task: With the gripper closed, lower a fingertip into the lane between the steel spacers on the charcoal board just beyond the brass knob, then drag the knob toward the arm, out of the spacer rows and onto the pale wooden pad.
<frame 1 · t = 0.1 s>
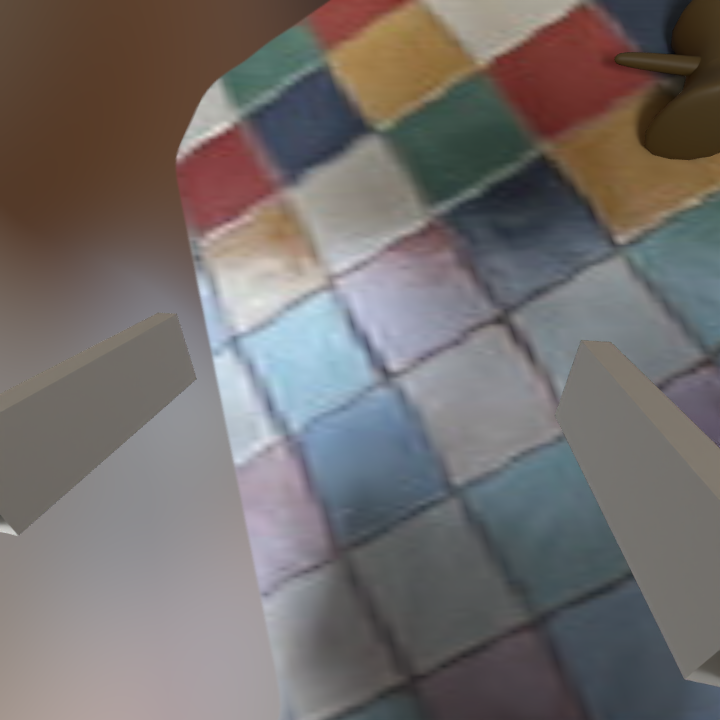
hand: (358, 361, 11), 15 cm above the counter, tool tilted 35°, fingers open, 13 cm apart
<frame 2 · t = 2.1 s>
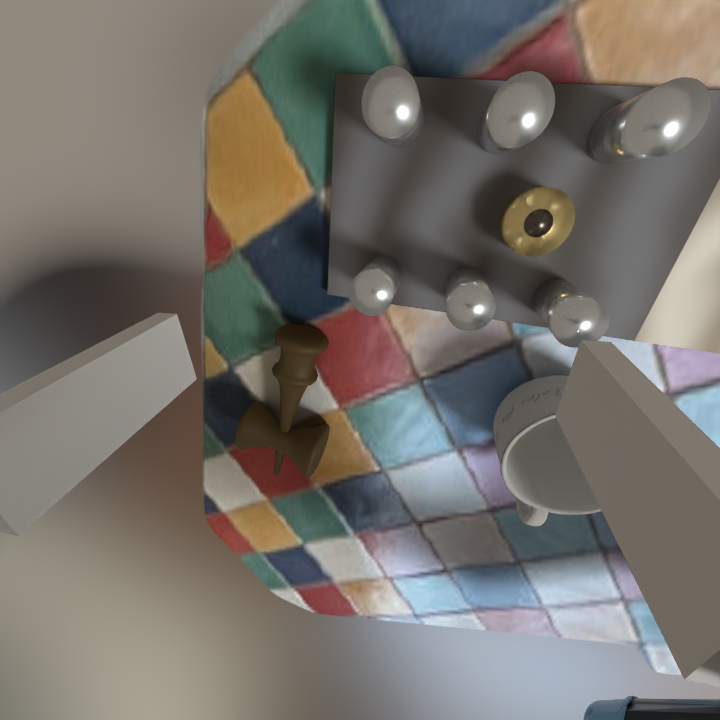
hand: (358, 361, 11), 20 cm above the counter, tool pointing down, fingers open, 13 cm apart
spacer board: (577, 224, 25), on the counter
kendama: (298, 397, 39), on the counter
teacup: (537, 419, 33), on the counter
steel spacers: (577, 224, 25), resting on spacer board
brass knob: (530, 220, 25), point 1 cm above the counter, touching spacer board
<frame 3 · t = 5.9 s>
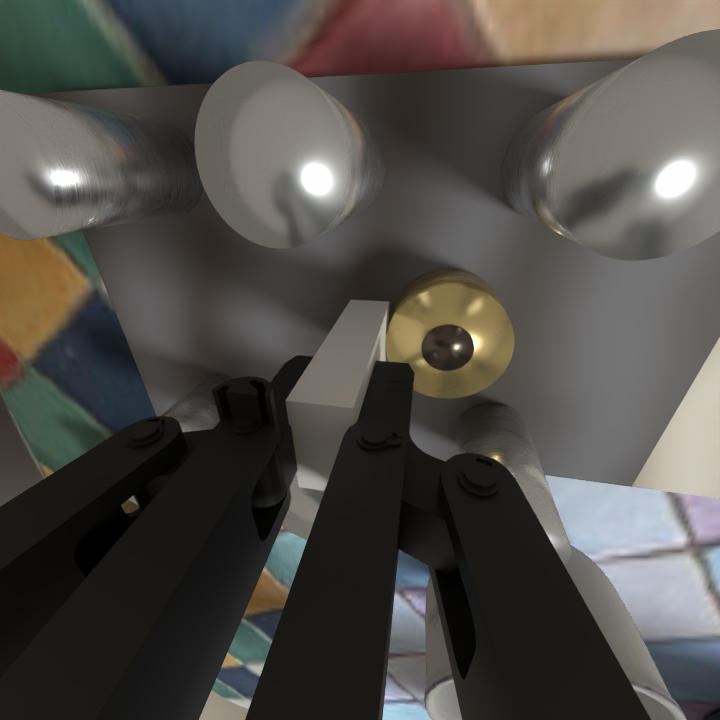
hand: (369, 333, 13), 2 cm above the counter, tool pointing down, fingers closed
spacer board: (511, 316, 14), on the counter
teacup: (499, 564, 23), on the counter
steel spacers: (511, 316, 14), resting on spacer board
brass knob: (444, 321, 14), point 1 cm above the counter, touching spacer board
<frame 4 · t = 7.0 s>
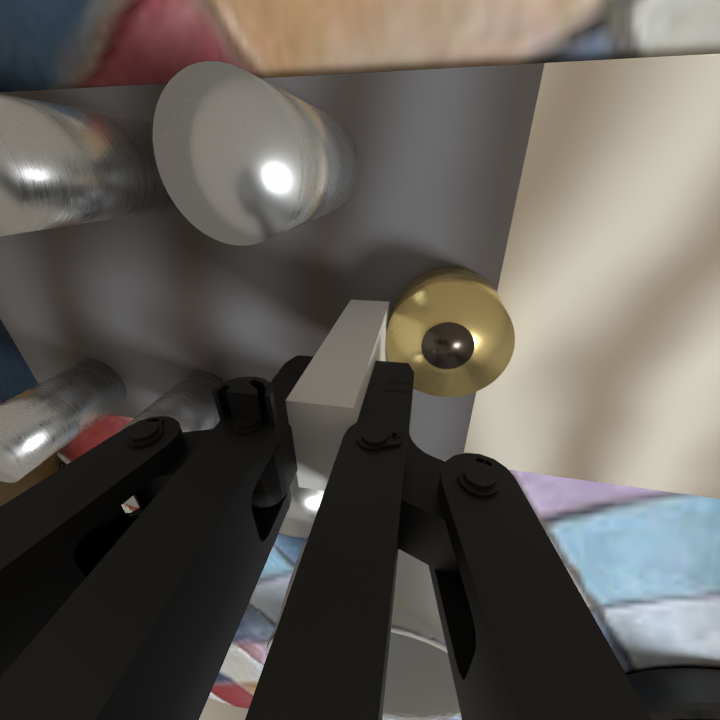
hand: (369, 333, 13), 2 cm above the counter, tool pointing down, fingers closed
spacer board: (329, 304, 15), on the counter
kendama: (92, 505, 30), on the counter
teacup: (382, 542, 24), on the counter
steel spacers: (329, 304, 15), resting on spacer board
brass knob: (445, 319, 14), point 1 cm above the counter
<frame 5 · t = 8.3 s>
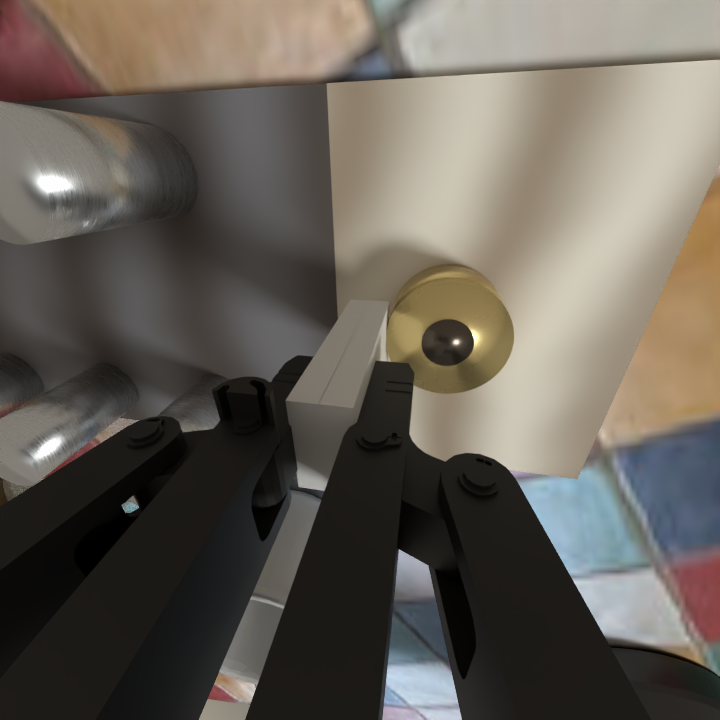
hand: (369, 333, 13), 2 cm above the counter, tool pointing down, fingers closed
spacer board: (205, 299, 17), on the counter
teacup: (300, 528, 25), on the counter
steel spacers: (205, 299, 17), resting on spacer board
brass knob: (445, 317, 14), point 1 cm above the counter, touching gripper, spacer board
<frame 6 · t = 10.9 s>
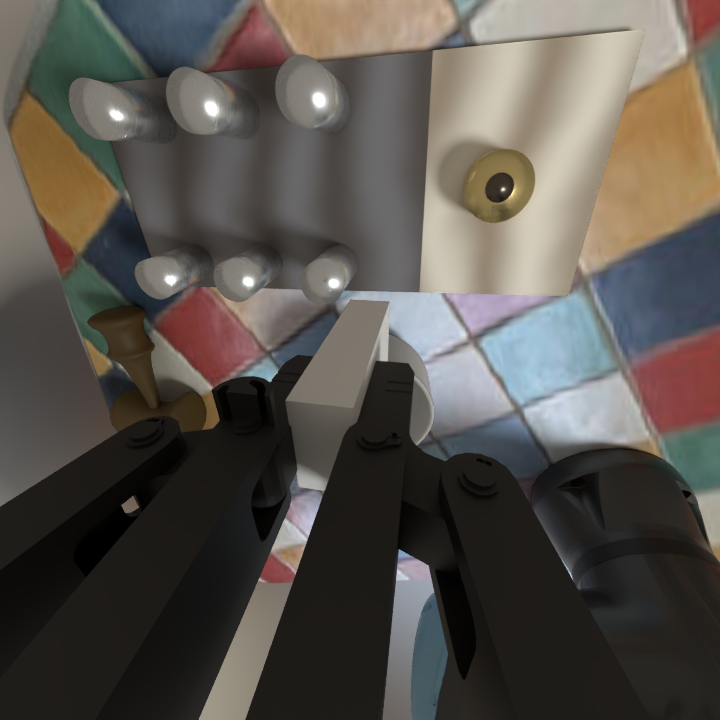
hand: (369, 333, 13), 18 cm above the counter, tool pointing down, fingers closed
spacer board: (338, 192, 27), on the counter
kendama: (165, 376, 42), on the counter
teacup: (377, 377, 36), on the counter
steel spacers: (338, 192, 27), resting on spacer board
brass knob: (493, 185, 24), point 1 cm above the counter, touching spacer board
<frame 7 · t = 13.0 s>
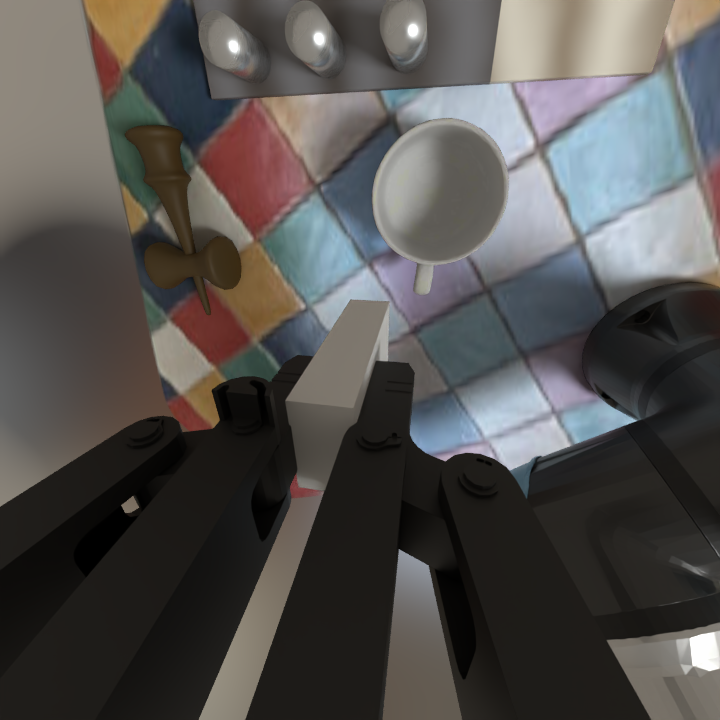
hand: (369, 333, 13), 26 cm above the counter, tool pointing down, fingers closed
kendama: (199, 228, 41), on the counter
teacup: (431, 210, 35), on the counter
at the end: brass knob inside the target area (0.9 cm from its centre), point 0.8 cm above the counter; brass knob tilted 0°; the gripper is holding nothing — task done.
